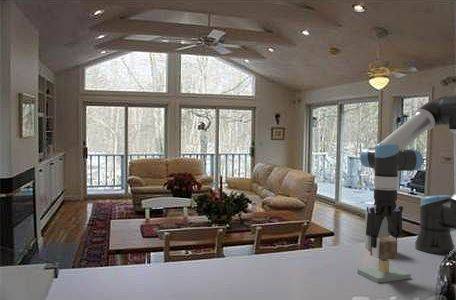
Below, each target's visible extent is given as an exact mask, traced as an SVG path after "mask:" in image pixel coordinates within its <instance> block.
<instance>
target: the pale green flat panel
mask: <svg viewBox="0 0 456 300" xmlns="http://www.w3.org/2000/svg"><path fill="white" fill-rule="evenodd" d="M356 273H357V274H358V275H359V276H362V277H364V278H366V279H368V280H370V281H373V282H374V283H377V284H378V283H385V282H393V281H400V280H401V281H402V280H408V279H412V276H411V275H412V274H411V273H410V272H407V271H405V270H402V269H400V268H397V267H396V266H395V267H394V266H392V265H390V259H387V260H381V259H379V258H378V266H374V267H373V266H372V267H365V268H357V272H356Z"/></svg>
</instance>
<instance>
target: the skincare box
mask: <svg viewBox="0 0 456 300" xmlns="http://www.w3.org/2000/svg"><path fill="white" fill-rule="evenodd" d="M364 212H365V213H364V216H365V219H364V220H365V224H364V225H365V226H364V227H365V230H364V232H365V233H364V234H365V235H364V236H365V237H364V238H365V240H364V241H365V242H364V244H365V245H364V247H365V248H366V250H367V251H368V252H369V251H370V252H371V237H370V236H367V235H366V226H367V215H368V213H367V211H364ZM375 213H376V212H375ZM388 236H389V226H388V222H387V218H386V217H384V219H383V220H382V224H381V228H380V231H379V235H378V237H387V238H388Z"/></svg>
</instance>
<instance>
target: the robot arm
mask: <svg viewBox="0 0 456 300" xmlns="http://www.w3.org/2000/svg"><path fill="white" fill-rule="evenodd" d="M443 125H444V126H446V125H447V126H448V131H450V132H451V133H452V134H453V136H452V137H453V171H454V172H453V173H454V175H453V177H454V193H453V194H452V195H448V194H447V195H446V194H445V195H440V194H439V195H426V196H422V197H421V199H420V206H419V207H420V212H419V213H420V216H419V217H420V218H419V219H420V221H419V232H418V234H417V238H416V240H415V243H414V247H415V249H416V250H419V251H421V252H425V253H430V254H436V255H437V254H438V255H448V254H447V253H449V252H450V251H452V250H453V249H456V248H455V244H454V242H453V239H452V234H451V230H452V229H453V230H456V94H455V95H444V96H440V97H436V98H433V99H432V100H430V101H428V102H426V103H424V104H422V106H420V107H419V108H417V109H416V110H415V111H414V112H413V113H412V116H411V118H409V119H407V120H406V121H405V122H404V123H402V124H401V126H399V127H398V128H397V129H396V130H394V131H393V132H392V133H391V134H389V135H388V136H386V137H385V139H384V140H382V141H380V142H379V143H377V144H376V145H375V146H374V147H368V148H364V149H363V150H362V151H361V153H360V155H359V159H360V163H361V165H362V166H363V167H365V168H368V169H369V168H370V169H374V176H373V178H374V180H373V187H374V189H373V199H374V203H373V205H372V206H366V212H367V213H368V215H367V226H366V235H367V236H370V237H371V247H372V256H371V257H373V258H377V259H379V245H380V239H379V238H378V235H379V231H380V228H381V224H382V220H383V219H384V217H386V218H387V222H388V232H389V234H390V235H388V238H390V239H393V240H396V241H397V242H398V239H399V238H400V236H401V235H403V211H404V210H403V209H404V207H403V206H402V205H397V200H398V190H397V189H398V188H399V187H398V186H399V183H398V182H399V179H398V178H399V172H413V171H417V170H420V169H421V168H422V167H423V164H424V157H423V154H422V153H421V152H420V151H419V150H417V149H406V148H407V147H408V146H409V145H411V143H413V142H414V141H415V140H416V139H417V138H419V137H420V136H421V135H422V134H423V133H425V132H426V131H430V130H432V129H433V128H434V127H438V126H443ZM375 212H376V213H375Z"/></svg>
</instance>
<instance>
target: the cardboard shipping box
mask: <svg viewBox="0 0 456 300" xmlns="http://www.w3.org/2000/svg"><path fill="white" fill-rule="evenodd" d="M378 238H379V239H380V245H379V258H378V260H379V259H381V260H395V259H396V260H397V258H398V240H397V241H396V240H393V239H390V238H387V237H378ZM370 256H371V257H373V256H372V247H371V251H370Z"/></svg>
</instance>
